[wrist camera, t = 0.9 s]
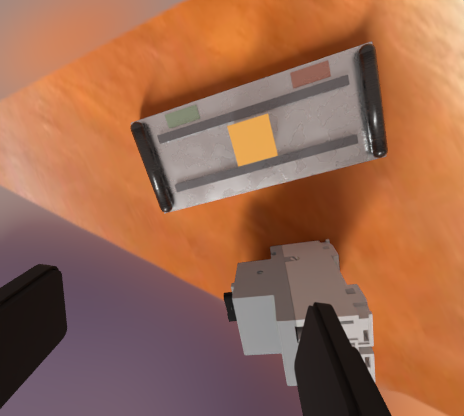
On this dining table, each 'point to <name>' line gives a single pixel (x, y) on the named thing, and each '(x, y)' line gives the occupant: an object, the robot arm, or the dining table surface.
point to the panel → (283, 127)
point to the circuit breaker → (295, 302)
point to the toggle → (252, 140)
